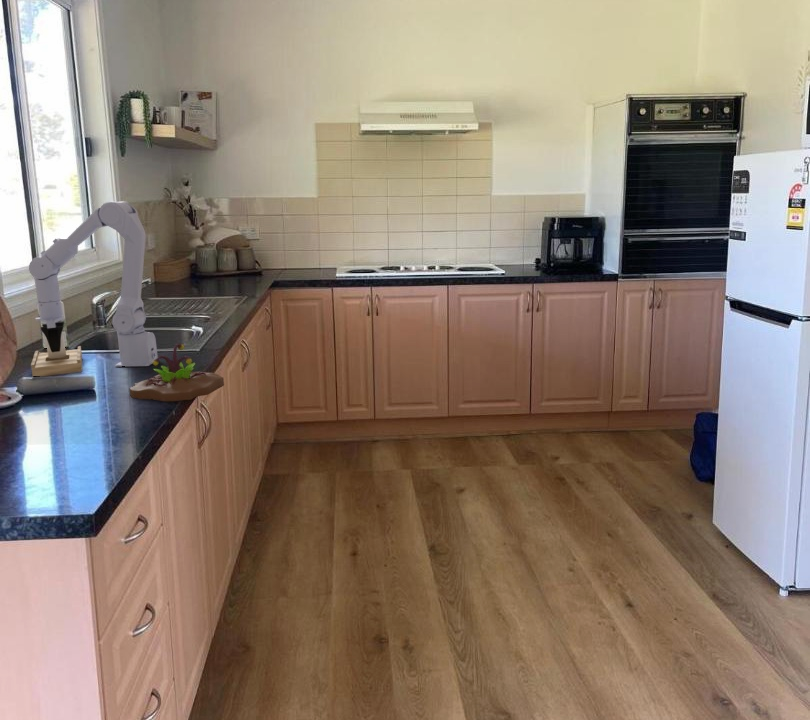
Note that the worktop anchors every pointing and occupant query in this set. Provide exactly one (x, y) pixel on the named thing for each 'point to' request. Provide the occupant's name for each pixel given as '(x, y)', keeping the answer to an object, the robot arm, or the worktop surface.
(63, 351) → the cream small block
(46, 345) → the syrup box
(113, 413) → the worktop surface
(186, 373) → the plant
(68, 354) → the jig plate
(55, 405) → the worktop surface
